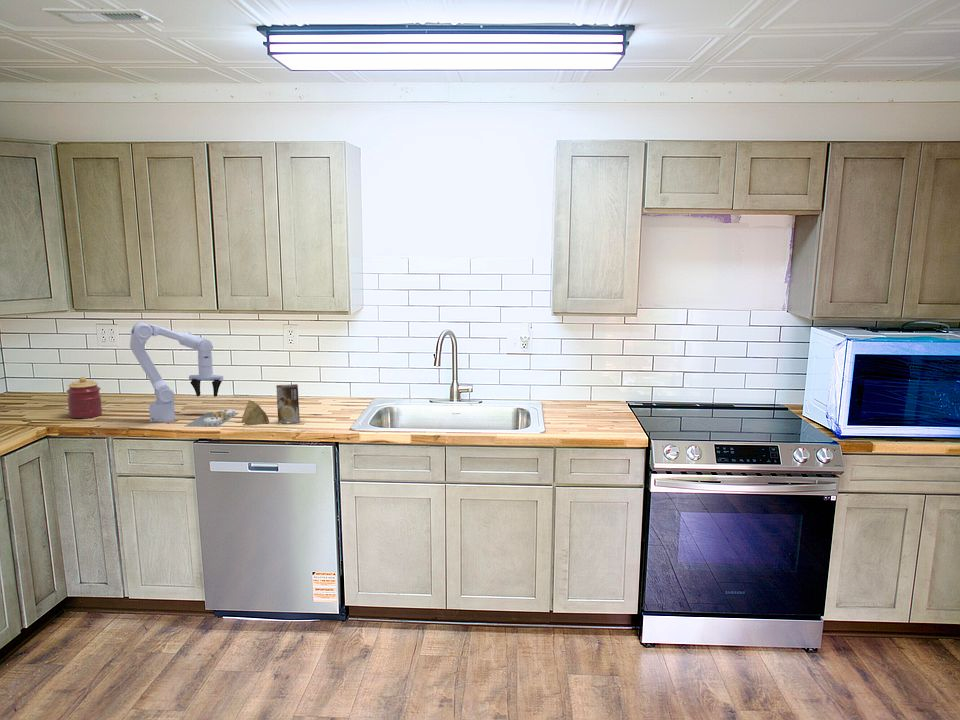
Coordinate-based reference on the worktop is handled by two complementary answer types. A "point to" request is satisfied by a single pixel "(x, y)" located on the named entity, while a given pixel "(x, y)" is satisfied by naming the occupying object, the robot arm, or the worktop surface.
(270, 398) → the worktop surface
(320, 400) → the worktop surface
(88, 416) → the canister
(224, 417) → the brass gear
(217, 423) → the gear board
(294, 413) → the coffee box
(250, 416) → the rock
